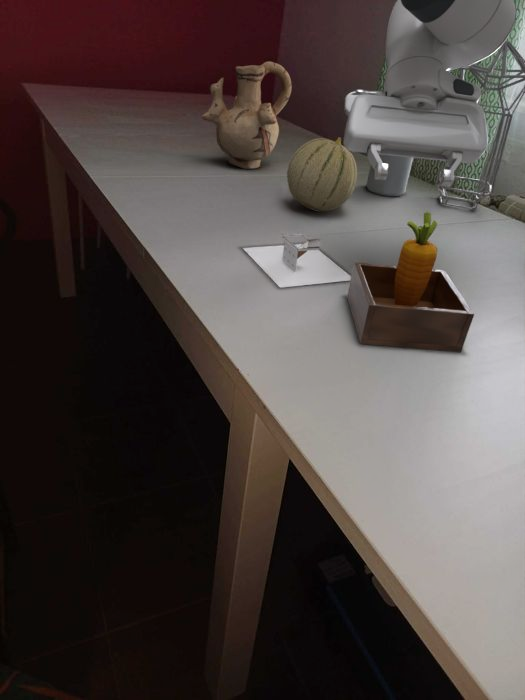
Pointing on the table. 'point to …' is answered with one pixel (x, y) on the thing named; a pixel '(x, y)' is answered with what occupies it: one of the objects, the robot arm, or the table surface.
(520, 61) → the metal wire rack
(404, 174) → the water bottle
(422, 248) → the carrot
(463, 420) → the table surface
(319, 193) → the cantaloupe
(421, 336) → the basket
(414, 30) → the robot arm
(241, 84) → the ceramic vessel
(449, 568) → the table surface
